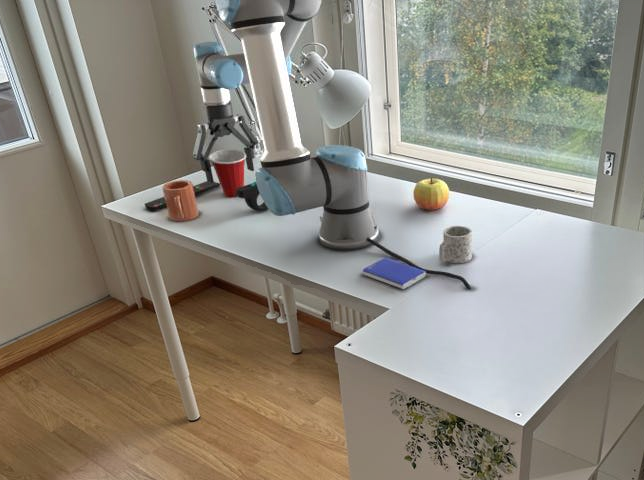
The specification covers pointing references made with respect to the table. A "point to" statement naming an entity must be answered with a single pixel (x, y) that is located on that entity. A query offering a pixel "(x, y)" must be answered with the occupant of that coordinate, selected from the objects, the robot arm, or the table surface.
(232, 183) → the plastic cup
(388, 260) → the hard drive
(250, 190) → the controller
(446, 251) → the mug
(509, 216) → the table surface
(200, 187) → the remote control
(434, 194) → the apple
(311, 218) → the table surface
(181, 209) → the mug
